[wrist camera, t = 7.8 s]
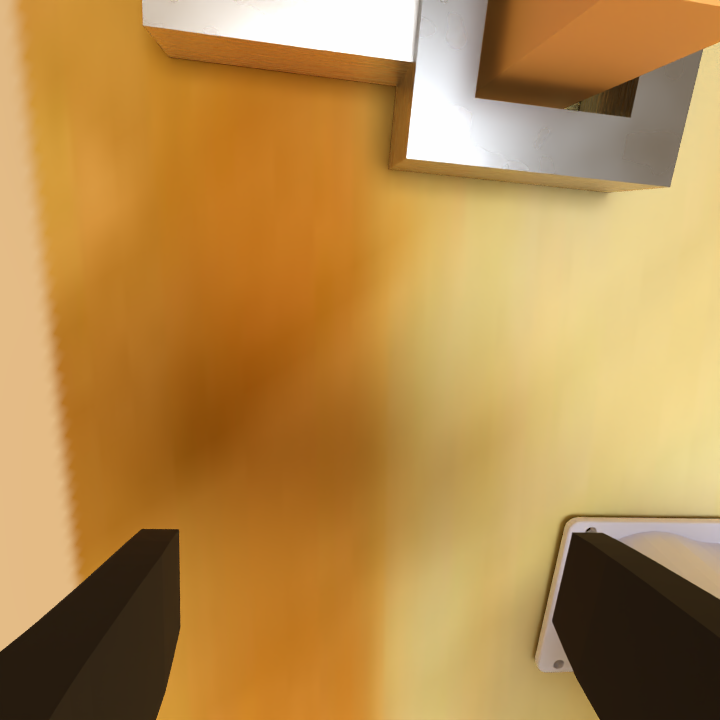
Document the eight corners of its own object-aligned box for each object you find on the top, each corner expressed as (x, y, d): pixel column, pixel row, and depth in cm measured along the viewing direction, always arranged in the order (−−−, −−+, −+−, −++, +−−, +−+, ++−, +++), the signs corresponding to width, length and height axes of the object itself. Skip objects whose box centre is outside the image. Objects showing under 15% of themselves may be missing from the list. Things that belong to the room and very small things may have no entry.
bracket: (666, -78, 15) (750, -146, 12) (609, 192, 17) (670, 187, 14) (165, -171, 13) (127, -278, 10) (170, 146, 15) (140, 129, 13)
